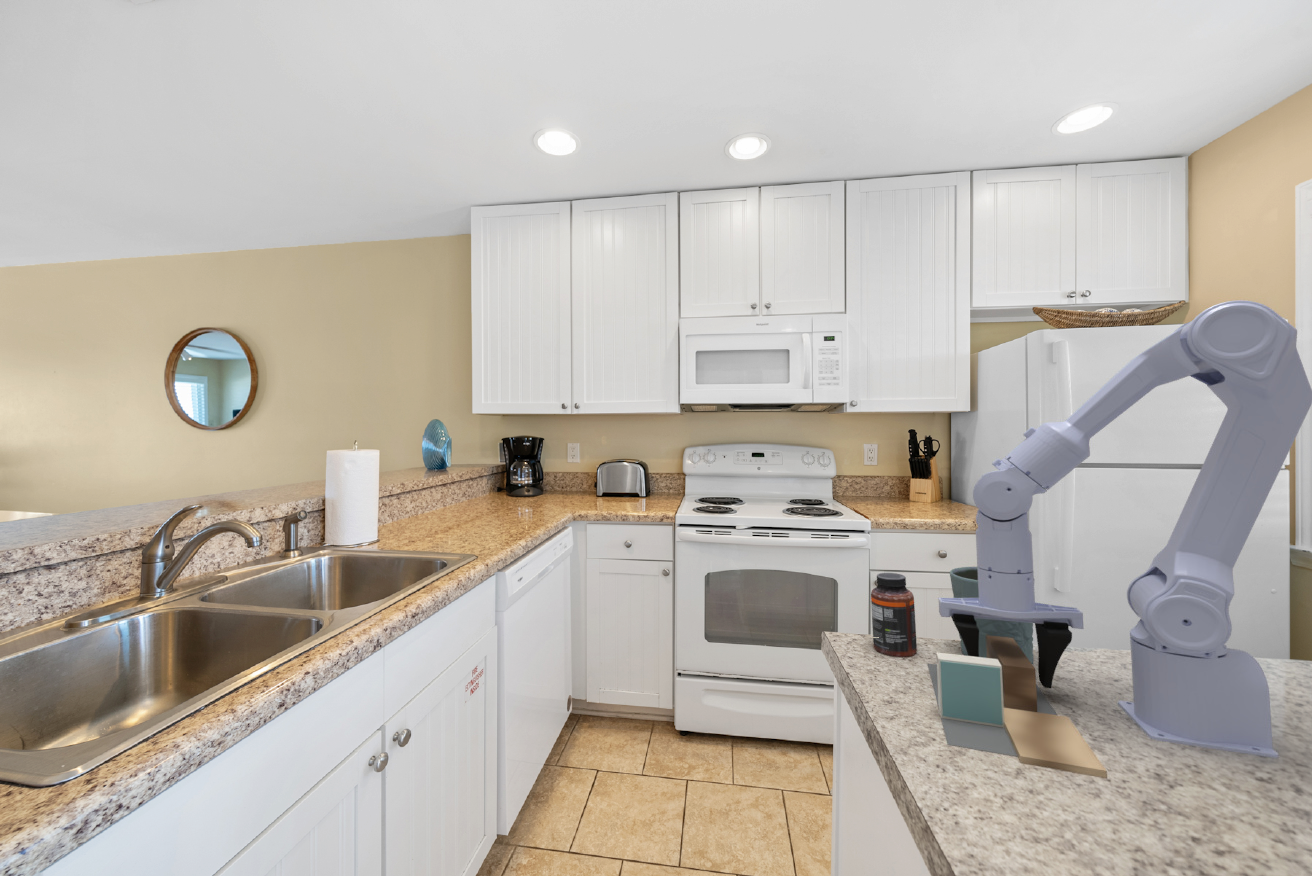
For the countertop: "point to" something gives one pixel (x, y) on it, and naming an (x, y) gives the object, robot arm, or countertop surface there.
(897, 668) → the countertop surface
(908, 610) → the supplement bottle
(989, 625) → the teal textured planter
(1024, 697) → the brown rectangular block
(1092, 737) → the countertop surface
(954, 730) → the mat
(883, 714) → the countertop surface
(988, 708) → the tile
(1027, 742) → the trivet
